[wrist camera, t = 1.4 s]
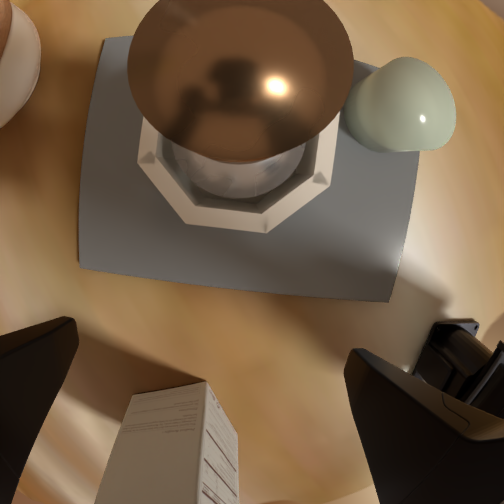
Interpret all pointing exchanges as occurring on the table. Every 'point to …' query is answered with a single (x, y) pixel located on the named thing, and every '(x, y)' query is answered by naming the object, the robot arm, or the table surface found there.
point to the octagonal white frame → (238, 209)
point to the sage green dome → (401, 108)
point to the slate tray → (230, 240)
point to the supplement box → (173, 451)
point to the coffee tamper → (240, 85)
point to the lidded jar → (17, 59)
